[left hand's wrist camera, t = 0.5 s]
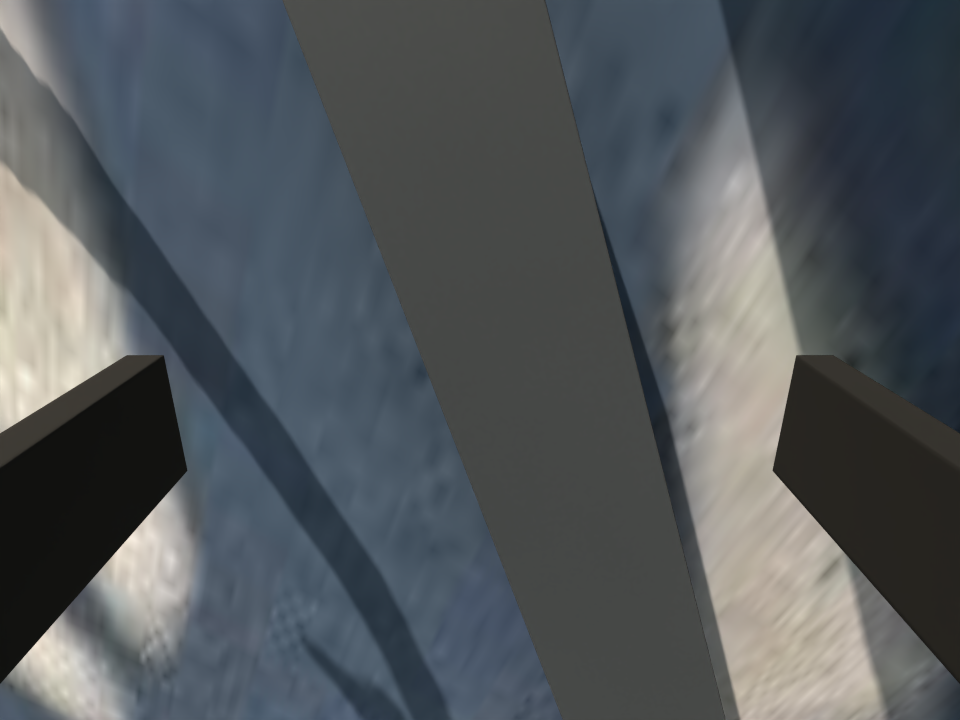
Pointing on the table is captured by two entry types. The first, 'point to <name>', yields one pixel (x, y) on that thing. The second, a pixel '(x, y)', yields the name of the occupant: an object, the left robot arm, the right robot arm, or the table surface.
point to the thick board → (519, 331)
